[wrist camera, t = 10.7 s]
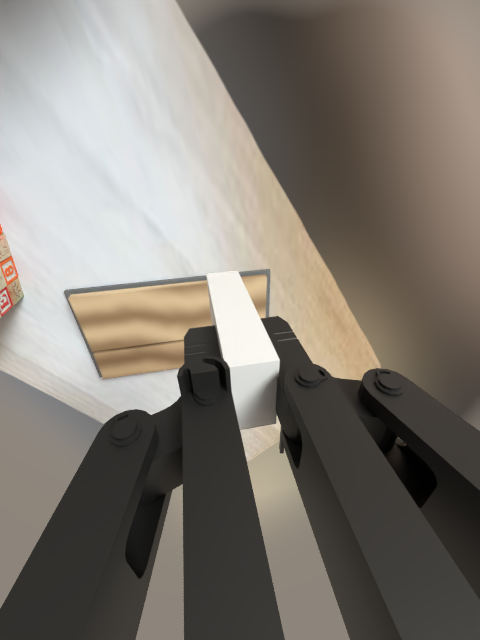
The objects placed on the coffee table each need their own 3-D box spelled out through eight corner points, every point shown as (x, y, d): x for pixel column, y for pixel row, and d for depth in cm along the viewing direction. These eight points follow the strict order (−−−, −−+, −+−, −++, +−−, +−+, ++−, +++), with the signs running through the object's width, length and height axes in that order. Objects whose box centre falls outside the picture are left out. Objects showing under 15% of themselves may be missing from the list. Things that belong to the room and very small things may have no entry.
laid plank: (95, 350, 45) (93, 354, 44) (263, 327, 49) (265, 331, 48) (105, 374, 48) (103, 379, 47) (262, 351, 52) (264, 355, 51)
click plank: (70, 294, 39) (68, 298, 38) (264, 274, 43) (266, 277, 42) (94, 346, 45) (92, 351, 44) (263, 324, 49) (265, 328, 48)
